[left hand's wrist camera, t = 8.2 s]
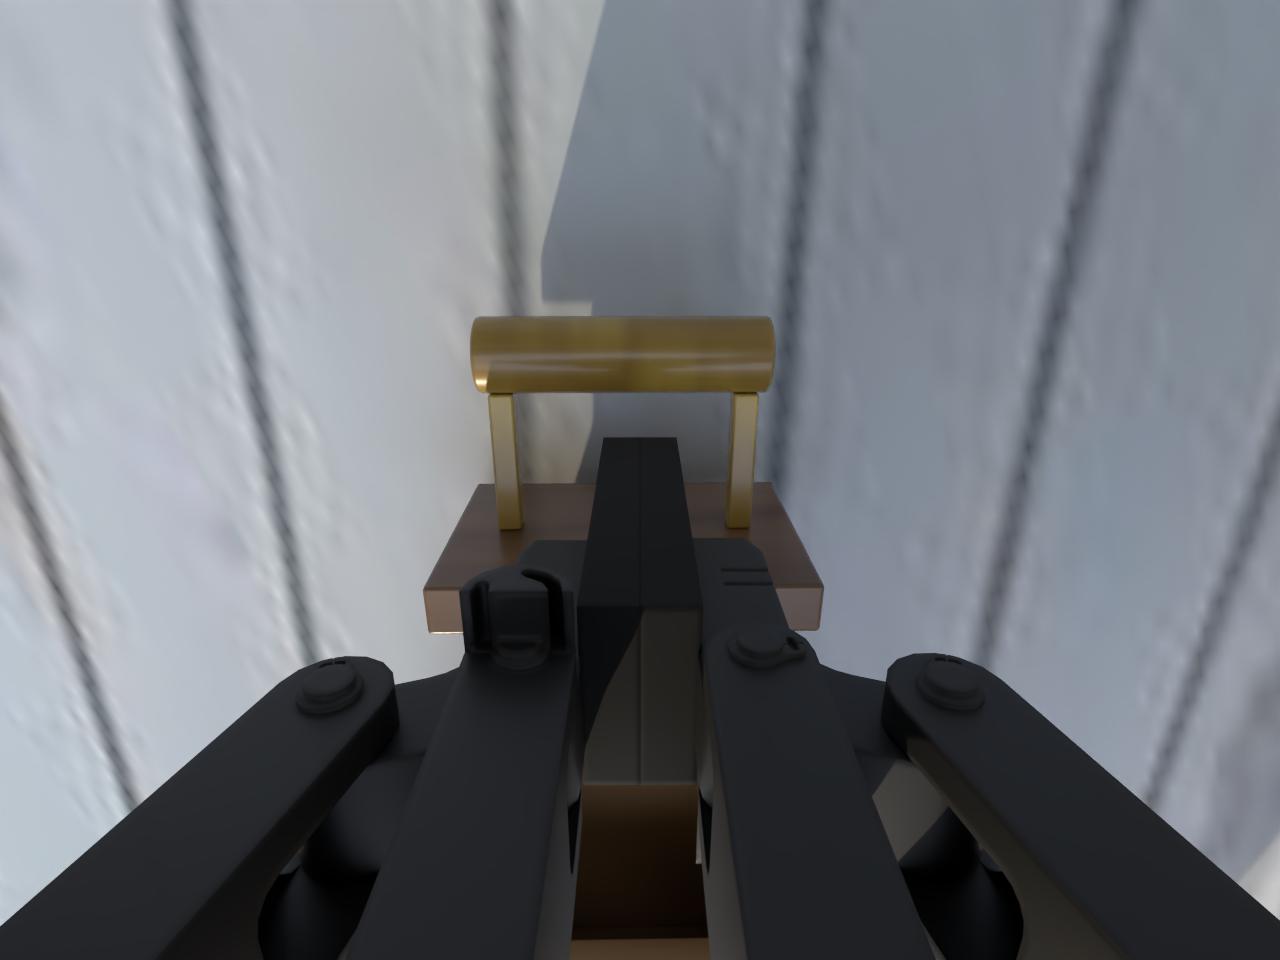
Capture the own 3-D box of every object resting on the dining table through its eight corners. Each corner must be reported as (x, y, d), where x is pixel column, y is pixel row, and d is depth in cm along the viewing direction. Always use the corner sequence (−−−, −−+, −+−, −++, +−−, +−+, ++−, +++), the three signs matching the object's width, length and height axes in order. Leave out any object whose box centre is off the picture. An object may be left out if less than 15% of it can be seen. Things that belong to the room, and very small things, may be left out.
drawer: (460, 300, 19) (388, 342, 13) (785, 299, 19) (853, 341, 13) (517, 912, 27) (489, 1096, 22) (739, 909, 28) (767, 1091, 22)
